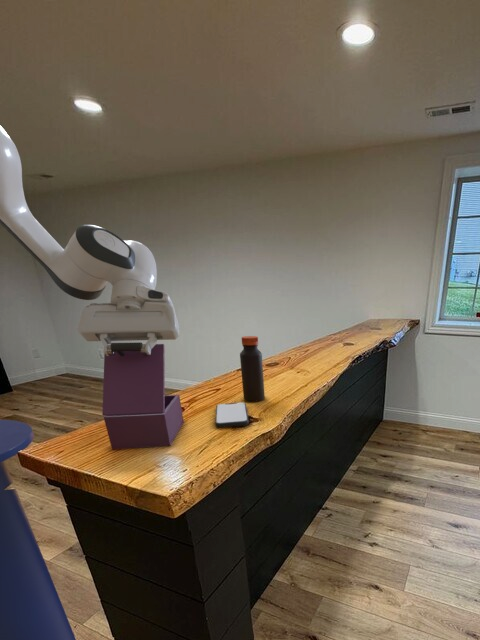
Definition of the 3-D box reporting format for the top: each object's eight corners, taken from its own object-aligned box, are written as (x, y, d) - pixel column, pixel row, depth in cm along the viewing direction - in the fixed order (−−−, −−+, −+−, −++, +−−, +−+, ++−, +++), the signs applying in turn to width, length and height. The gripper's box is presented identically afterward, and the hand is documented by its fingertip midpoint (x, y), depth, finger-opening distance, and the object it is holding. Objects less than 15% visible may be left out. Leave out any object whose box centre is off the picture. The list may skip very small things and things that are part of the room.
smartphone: (249, 426, 93) (246, 406, 107) (249, 421, 92) (245, 401, 106) (215, 429, 91) (216, 408, 105) (214, 423, 90) (215, 403, 104)
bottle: (268, 398, 116) (265, 336, 108) (256, 403, 110) (251, 339, 102) (252, 395, 119) (247, 335, 111) (239, 400, 113) (233, 337, 105)
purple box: (134, 424, 93) (128, 396, 90) (183, 422, 95) (179, 394, 92) (111, 449, 79) (103, 417, 76) (170, 446, 81) (164, 414, 78)
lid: (106, 346, 79) (93, 334, 74) (164, 345, 81) (156, 333, 76) (103, 415, 76) (90, 409, 71) (164, 413, 78) (156, 406, 73)
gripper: (76, 293, 76) (66, 346, 70) (175, 293, 79) (172, 343, 74) (91, 313, 81) (82, 363, 76) (182, 312, 84) (180, 360, 79)
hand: (127, 353), depth 75 cm, fingers closed on lid, 6 cm apart
